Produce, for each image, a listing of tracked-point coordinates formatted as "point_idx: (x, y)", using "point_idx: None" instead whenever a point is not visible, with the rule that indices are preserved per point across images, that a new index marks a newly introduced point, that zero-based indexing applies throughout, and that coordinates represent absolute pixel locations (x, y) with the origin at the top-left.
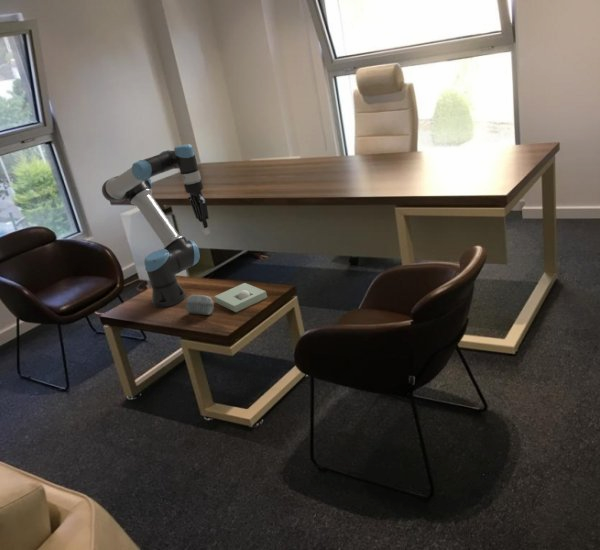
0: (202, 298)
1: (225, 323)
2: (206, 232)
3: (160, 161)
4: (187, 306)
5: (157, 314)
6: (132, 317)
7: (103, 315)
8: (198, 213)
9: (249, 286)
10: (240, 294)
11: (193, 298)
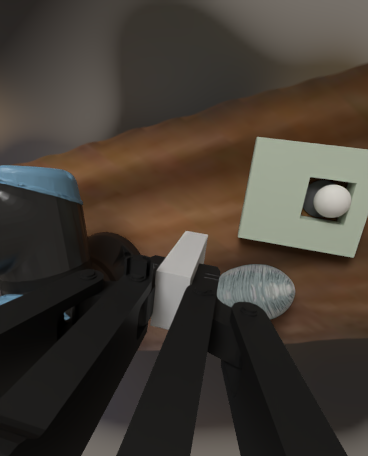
0: (279, 307)
1: (363, 299)
2: (202, 263)
3: None
4: None
5: (149, 320)
6: None
7: None
8: (119, 373)
9: (297, 149)
10: (335, 215)
11: None
